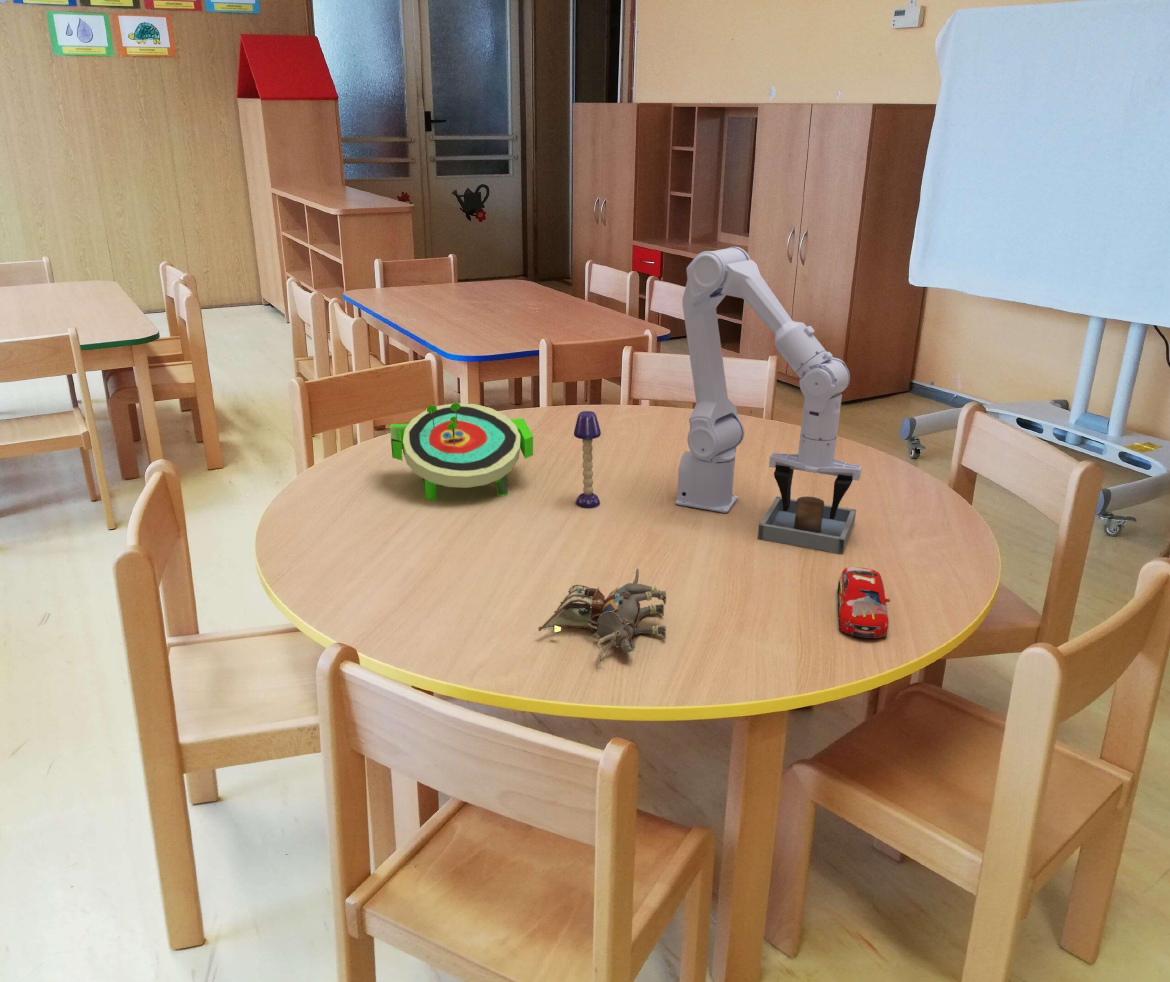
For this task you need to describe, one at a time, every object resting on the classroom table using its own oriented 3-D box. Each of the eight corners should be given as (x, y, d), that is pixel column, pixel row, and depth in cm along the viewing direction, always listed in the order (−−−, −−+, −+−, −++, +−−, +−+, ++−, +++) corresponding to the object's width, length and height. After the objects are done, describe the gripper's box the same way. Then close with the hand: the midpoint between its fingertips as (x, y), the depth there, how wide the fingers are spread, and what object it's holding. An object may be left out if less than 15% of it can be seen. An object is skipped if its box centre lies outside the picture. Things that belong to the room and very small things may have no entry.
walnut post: (791, 531, 155) (794, 503, 154) (796, 522, 159) (799, 494, 157) (818, 536, 154) (821, 508, 152) (822, 526, 158) (826, 499, 156)
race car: (888, 647, 123) (893, 614, 121) (835, 640, 124) (840, 607, 123) (883, 591, 138) (888, 560, 136) (836, 585, 139) (840, 555, 137)
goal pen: (757, 538, 153) (759, 524, 152) (775, 509, 165) (776, 496, 164) (842, 554, 148) (844, 539, 148) (854, 523, 160) (856, 509, 159)
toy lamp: (575, 509, 163) (577, 417, 157) (570, 499, 167) (572, 409, 161) (602, 507, 164) (605, 416, 158) (596, 497, 168) (599, 408, 162)
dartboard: (395, 512, 160) (390, 422, 154) (392, 474, 177) (388, 392, 171) (539, 503, 165) (540, 416, 160) (523, 467, 182) (523, 387, 176)
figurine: (672, 636, 114) (534, 634, 114) (670, 677, 116) (534, 675, 116) (662, 556, 132) (543, 554, 132) (661, 593, 134) (543, 591, 135)
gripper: (768, 435, 150) (760, 514, 155) (861, 449, 144) (850, 529, 149) (777, 423, 156) (769, 499, 161) (867, 436, 151) (856, 513, 156)
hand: (809, 513), depth 155 cm, fingers open, 7 cm apart
